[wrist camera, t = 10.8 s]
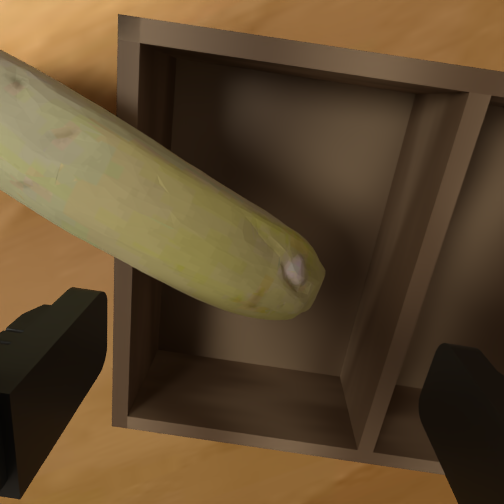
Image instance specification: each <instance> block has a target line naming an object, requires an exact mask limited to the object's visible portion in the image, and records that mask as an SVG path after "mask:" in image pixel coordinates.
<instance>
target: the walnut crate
mask: <svg viewBox="0 0 504 504" xmlns="http://www.w3.org/2000/svg"><path fill="white" fill-rule="evenodd" d="M117 117H118V118H120V119H121V120H123V121H125V122H126V123H128V124H129V125H131V126H133V127H134V128H136V129H137V130H139V131H141V132H142V133H144V134H145V135H147V136H148V137H150V138H151V139H153V140H155V141H156V142H158V143H159V144H160V145H162V146H163V147H165V148H166V149H168V150H169V151H171V152H172V153H174V154H175V155H177V156H178V157H180V158H181V159H183V160H184V161H186V162H187V163H189V164H191V165H193V166H194V167H196V168H198V169H199V170H201V171H202V172H204V173H205V174H207V175H208V176H210V177H211V178H213V179H214V180H216V181H218V182H219V183H221V184H222V185H224V186H226V187H227V188H229V189H231V190H232V191H234V192H236V193H237V194H239V195H240V196H242V197H243V198H245V199H247V200H248V201H250V202H252V203H254V204H255V205H257V206H259V207H260V208H262V209H264V210H265V211H267V212H268V213H270V214H271V215H273V216H274V217H275V218H277V219H278V220H280V221H281V222H282V223H284V224H285V225H286V226H288V227H289V228H291V229H293V230H294V231H296V232H297V233H299V234H300V235H301V236H302V237H303V238H305V239H306V240H307V241H308V242H309V244H310V245H311V246H312V247H313V249H314V250H315V252H316V254H317V256H318V258H319V261H320V262H321V264H322V265H323V267H324V268H325V277H324V280H323V282H322V285H321V287H320V289H319V292H318V294H317V296H316V299H315V301H314V302H313V304H312V306H311V307H310V309H309V310H307V311H305V312H302V313H300V314H299V315H297V316H296V317H294V318H293V319H288V320H265V319H257V318H251V317H246V316H242V315H238V314H234V313H231V312H228V311H225V310H222V309H219V308H217V307H214V306H212V305H209V304H207V303H204V302H202V301H200V300H197V299H195V298H193V297H191V296H189V295H187V294H185V293H183V292H181V291H179V290H177V289H175V288H173V287H171V286H169V285H167V284H165V283H163V282H161V281H159V280H157V279H155V278H153V277H151V276H149V275H147V274H145V273H143V272H141V271H140V270H138V269H136V268H134V267H132V266H130V265H129V264H127V263H125V262H123V261H121V260H119V259H117V258H116V257H114V324H113V390H112V426H115V427H122V428H129V429H135V430H142V431H149V432H156V433H163V434H170V435H176V436H183V437H190V438H197V439H204V440H211V441H217V442H224V443H231V444H238V445H245V446H251V447H258V448H265V449H272V450H279V451H286V452H292V453H299V454H306V455H313V456H320V457H327V458H333V459H340V460H347V461H354V462H361V463H368V464H374V465H381V466H388V467H395V468H402V469H409V470H415V471H422V472H429V473H436V474H443V475H445V473H444V471H443V469H442V467H441V465H440V462H439V460H438V458H437V456H436V454H435V451H434V449H433V447H432V445H431V443H430V441H429V438H428V436H427V434H426V432H425V430H424V427H423V425H422V423H421V420H420V416H419V407H418V406H419V397H420V393H421V390H422V388H423V385H424V382H425V379H426V377H427V374H428V371H429V368H430V366H431V363H432V360H433V357H434V355H435V352H436V350H437V348H438V346H439V345H440V344H442V343H449V344H456V345H462V346H469V347H475V348H478V349H479V350H480V351H481V352H482V353H483V354H484V355H485V357H486V358H487V359H488V360H489V361H490V363H491V364H492V365H493V366H494V368H495V369H496V370H497V371H498V372H500V373H501V374H502V375H504V72H501V71H494V70H487V69H481V68H474V67H467V66H461V65H454V64H447V63H441V62H434V61H427V60H420V59H414V58H407V57H400V56H394V55H387V54H380V53H374V52H367V51H360V50H354V49H347V48H340V47H334V46H327V45H320V44H314V43H307V42H300V41H294V40H287V39H280V38H274V37H267V36H260V35H254V34H247V33H240V32H234V31H227V30H220V29H213V28H207V27H200V26H193V25H187V24H180V23H173V22H167V21H160V20H153V19H147V18H140V17H133V16H127V15H120V14H118V57H117Z"/></svg>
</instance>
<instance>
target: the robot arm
mask: <svg viewBox="0 0 504 504" xmlns="http://www.w3.org/2000/svg"><path fill="white" fill-rule="evenodd" d="M106 352H107V296H106V293H105V292H102V291H95V290H88V289H81V288H75V287H72V288H70V289H68V290H67V291H66V292H65V293H64V294H63V295H62V296H61V297H60V298H59V299H58V300H57V301H55V302H54V303H53V304H52V305H45V304H44V305H42V306H40V307H37V308H35V309H33V310H31V311H28V312H26V313H24V314H22V315H21V316H20V317H18V318H17V319H16V320H15V321H14V322H13V323H11V324H10V325H9V326H8V327H7V328H6V331H2V332H1V333H0V496H1V497H8V498H15V499H21V497H22V496H23V494H24V493H25V491H26V489H27V488H28V486H29V485H30V483H31V482H32V480H33V478H34V477H35V475H36V474H37V472H38V470H39V469H40V467H41V466H42V464H43V463H44V461H45V459H46V458H47V456H48V455H49V453H50V451H51V450H52V448H53V447H54V445H55V444H56V442H57V440H58V439H59V437H60V436H61V434H62V432H63V431H64V429H65V428H66V426H67V425H68V423H69V421H70V420H71V418H72V417H73V415H74V413H75V412H76V410H77V409H78V407H79V406H80V404H81V402H82V401H83V399H84V398H85V396H86V394H87V393H88V391H89V390H90V388H91V387H92V385H93V383H94V382H95V380H96V379H97V377H98V375H99V374H100V372H101V370H102V367H103V365H104V361H105V357H106ZM418 407H419V416H420V420H421V423H422V425H423V427H424V430H425V432H426V434H427V436H428V438H429V441H430V443H431V445H432V447H433V449H434V451H435V454H436V456H437V458H438V460H439V462H440V465H441V467H442V469H443V471H444V473H445V476H446V478H447V480H448V482H449V484H450V487H451V489H452V491H453V493H454V495H455V497H456V500H457V502H458V504H504V375H502V374H501V373H500V372H498V371H497V370H496V369H495V368H494V366H493V365H492V364H491V363H490V361H489V360H488V359H487V358H486V357H485V355H484V354H483V353H482V352H481V351H480V350H479V349H478V348H475V347H469V346H462V345H456V344H449V343H442V344H440V345H439V346H438V348H437V350H436V352H435V355H434V357H433V360H432V363H431V366H430V368H429V371H428V374H427V377H426V379H425V382H424V385H423V388H422V390H421V393H420V397H419V406H418Z"/></svg>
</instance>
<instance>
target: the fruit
mask: <svg viewBox="0 0 504 504" xmlns="http://www.w3.org/2000/svg"><path fill="white" fill-rule="evenodd" d="M0 190H2V191H3V192H5V193H6V194H8V195H9V196H11V197H13V198H14V199H16V200H17V201H19V202H21V203H22V204H24V205H25V206H27V207H29V208H30V209H32V210H33V211H35V212H36V213H38V214H39V215H41V216H43V217H44V218H46V219H47V220H49V221H51V222H52V223H54V224H56V225H57V226H59V227H61V228H62V229H64V230H66V231H67V232H69V233H71V234H72V235H74V236H76V237H78V238H80V239H82V240H84V241H86V242H88V243H89V244H91V245H93V246H95V247H97V248H99V249H101V250H103V251H104V252H106V253H108V254H110V255H112V256H114V257H116V258H117V259H119V260H121V261H123V262H125V263H127V264H129V265H130V266H132V267H134V268H136V269H138V270H140V271H141V272H143V273H145V274H147V275H149V276H151V277H153V278H155V279H157V280H159V281H161V282H163V283H165V284H167V285H169V286H171V287H173V288H175V289H177V290H179V291H181V292H183V293H185V294H187V295H189V296H191V297H193V298H195V299H197V300H200V301H202V302H204V303H207V304H209V305H212V306H214V307H217V308H219V309H222V310H225V311H228V312H231V313H234V314H238V315H242V316H246V317H251V318H257V319H265V320H288V319H293V318H294V317H296V316H297V315H299V314H300V313H302V312H305V311H307V310H309V309H310V307H311V306H312V304H313V302H314V301H315V299H316V296H317V294H318V292H319V289H320V287H321V285H322V282H323V280H324V277H325V268H324V267H323V265H322V264H321V262H320V261H319V258H318V256H317V254H316V252H315V250H314V249H313V247H312V246H311V245H310V244H309V242H308V241H307V240H306V239H305V238H303V237H302V236H301V235H300V234H299V233H297V232H296V231H294V230H293V229H291V228H289V227H288V226H286V225H285V224H284V223H282V222H281V221H280V220H278V219H277V218H275V217H274V216H273V215H271V214H270V213H268V212H267V211H265V210H264V209H262V208H260V207H259V206H257V205H255V204H254V203H252V202H250V201H248V200H247V199H245V198H243V197H242V196H240V195H239V194H237V193H236V192H234V191H232V190H231V189H229V188H227V187H226V186H224V185H222V184H221V183H219V182H218V181H216V180H214V179H213V178H211V177H210V176H208V175H207V174H205V173H204V172H202V171H201V170H199V169H198V168H196V167H194V166H193V165H191V164H189V163H187V162H186V161H184V160H183V159H181V158H180V157H178V156H177V155H175V154H174V153H172V152H171V151H169V150H168V149H166V148H165V147H163V146H162V145H160V144H159V143H158V142H156V141H155V140H153V139H151V138H150V137H148V136H147V135H145V134H144V133H142V132H141V131H139V130H137V129H136V128H134V127H133V126H131V125H129V124H128V123H126V122H125V121H123V120H121V119H120V118H118V117H116V116H115V115H113V114H112V113H110V112H109V111H107V110H105V109H104V108H102V107H101V106H99V105H97V104H95V103H94V102H92V101H90V100H89V99H87V98H85V97H83V96H82V95H80V94H78V93H77V92H75V91H74V90H72V89H70V88H69V87H67V86H66V85H64V84H62V83H61V82H59V81H57V80H55V79H53V78H52V77H50V76H48V75H46V74H44V73H43V72H41V71H39V70H37V69H36V68H34V67H32V66H30V65H28V64H26V63H25V62H23V61H21V60H19V59H17V58H15V57H13V56H11V55H9V54H8V53H6V52H4V51H2V50H0Z"/></svg>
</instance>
